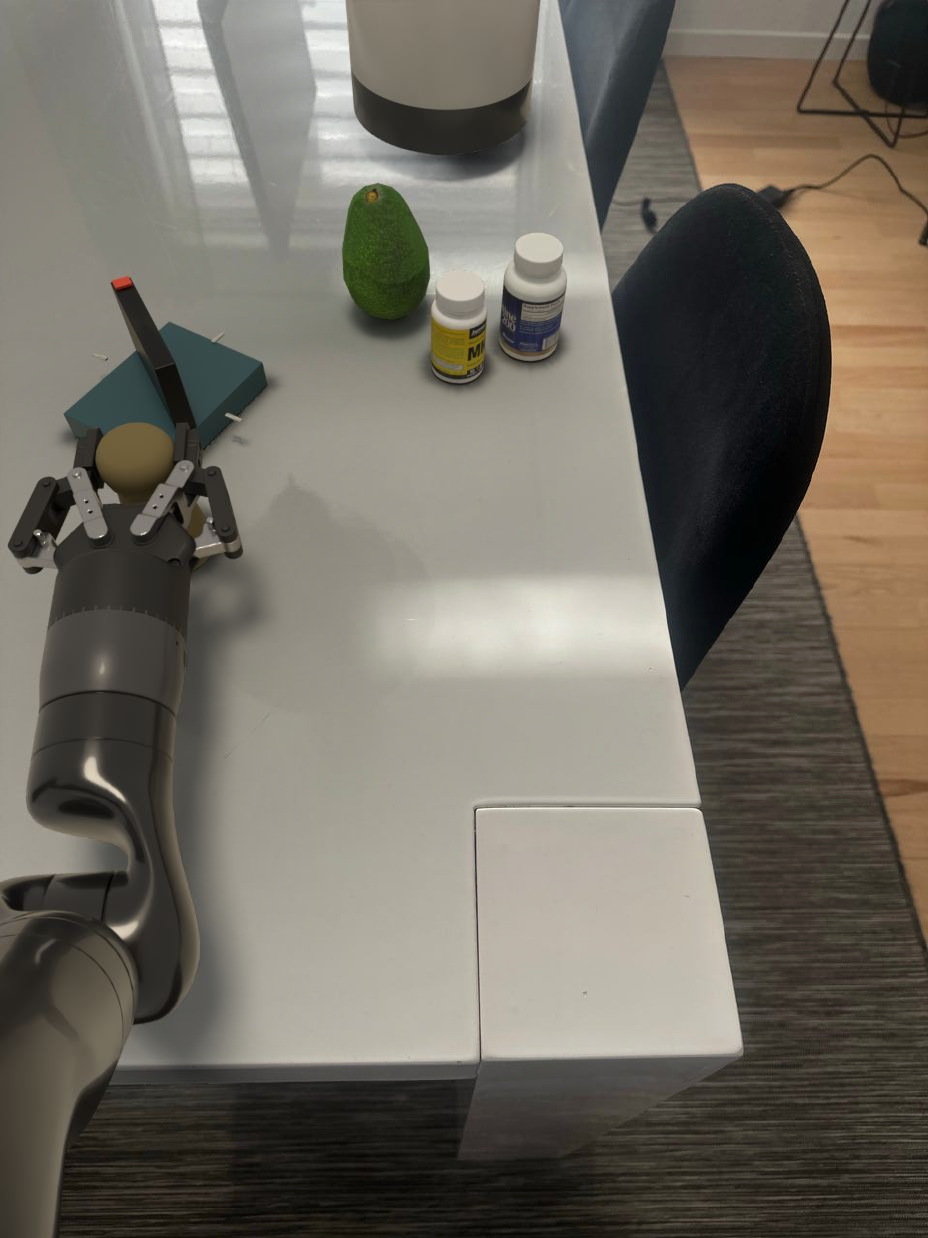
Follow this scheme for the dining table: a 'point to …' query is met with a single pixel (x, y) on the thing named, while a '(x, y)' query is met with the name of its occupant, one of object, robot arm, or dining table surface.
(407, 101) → the planter
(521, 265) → the pill bottle
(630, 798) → the dining table surface
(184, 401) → the red-tipped black panel
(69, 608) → the robot arm
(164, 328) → the teal base plate
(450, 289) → the supplement bottle
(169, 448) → the cork
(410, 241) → the avocado
